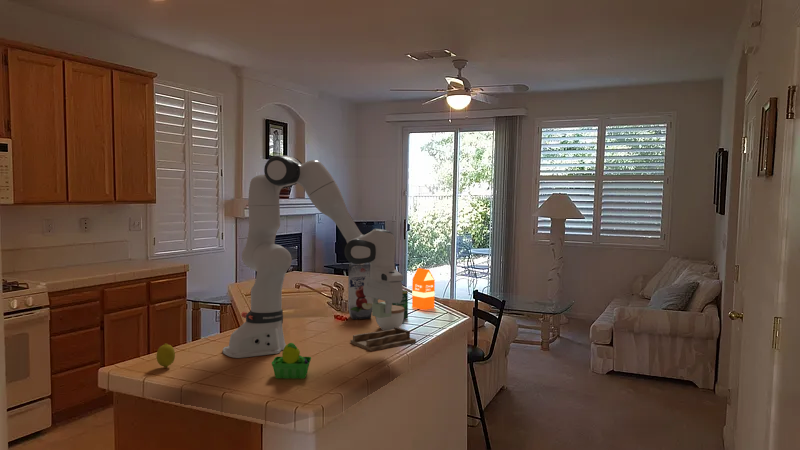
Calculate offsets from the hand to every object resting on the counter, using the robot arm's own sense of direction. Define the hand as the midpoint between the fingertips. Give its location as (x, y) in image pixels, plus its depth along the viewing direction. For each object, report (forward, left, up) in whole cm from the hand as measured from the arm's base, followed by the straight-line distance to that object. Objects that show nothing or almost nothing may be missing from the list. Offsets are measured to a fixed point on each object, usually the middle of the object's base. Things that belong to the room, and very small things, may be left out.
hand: (381, 311), depth 198 cm
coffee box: (+38, +39, -15) cm, 57 cm away
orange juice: (+65, +54, -15) cm, 86 cm away
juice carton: (+25, +52, -15) cm, 60 cm away
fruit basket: (-39, -7, -15) cm, 42 cm away
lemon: (-68, +25, -15) cm, 74 cm away
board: (+8, +9, -15) cm, 19 cm away
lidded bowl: (+23, +26, -15) cm, 38 cm away
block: (0, 0, -2) cm, 2 cm away
